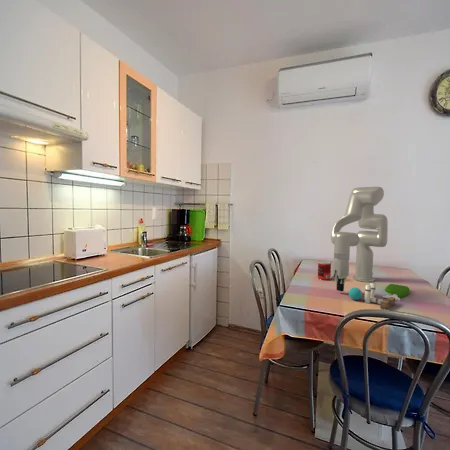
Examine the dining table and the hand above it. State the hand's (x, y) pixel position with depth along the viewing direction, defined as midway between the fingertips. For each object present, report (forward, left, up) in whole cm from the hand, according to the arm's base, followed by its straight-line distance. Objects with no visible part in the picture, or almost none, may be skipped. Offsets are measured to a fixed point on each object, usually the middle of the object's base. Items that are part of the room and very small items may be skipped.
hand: (340, 290), depth 138 cm
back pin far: (-2, +15, -2) cm, 15 cm away
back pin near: (+2, +15, -2) cm, 15 cm away
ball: (+3, +10, +2) cm, 10 cm away
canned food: (-20, -21, -2) cm, 29 cm away
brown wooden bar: (0, +23, -2) cm, 23 cm away
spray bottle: (-24, +19, -2) cm, 30 cm away
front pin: (0, +12, 0) cm, 12 cm away
